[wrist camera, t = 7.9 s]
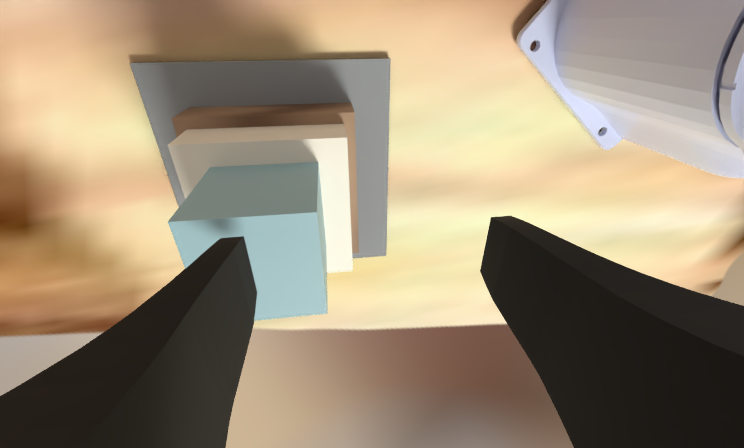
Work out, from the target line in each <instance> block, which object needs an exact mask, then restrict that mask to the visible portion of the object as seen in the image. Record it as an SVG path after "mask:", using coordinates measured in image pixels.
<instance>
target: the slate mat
mask: <svg viewBox="0 0 744 448" xmlns="http://www.w3.org/2000/svg"><path fill="white" fill-rule="evenodd" d="M130 65H131V68H132V71H133V74H134V77H135V80H136V83H137V86H138V89H139V92H140V95H141V98H142V100H143V103H144V106H145V109H146V112H147V115H148V118H149V121H150V124H151V127H152V130H153V133H154V135H155V138H156V141H157V144H158V147H159V150H160V153H161V156H162V159H163V162H164V165H165V168H166V171H167V173H168V176H169V179H170V182H171V185H172V188H173V191H174V194H175V197H176V200H177V203H178V206H179V207H180V206H181V204H182V203H183V202H184V200H185V197H184V194H183V191H182V188H181V185H180V182H179V178H178V175H177V172H176V169H175V166H174V163H173V160H172V157H171V154H170V151H169V148H168V144H169V143H171V142H172V141H173V140H174V139H176V138H177V135H176V131H175V128H174V125H173V122H172V118H173V117H175V116H176V115H178V114H179V113H181V112H182V111H184V110H185V109H187V108H188V107H219V106H251V105H283V104H316V103H348V102H351V103H352V106H353V109H354V112H355V140H356V173H357V206H358V239H359V253H353V254H352V258H363V257H375V256H386V239H387V192H388V145H389V98H390V58H370V59H312V60H254V61H196V62H138V63H130Z"/></svg>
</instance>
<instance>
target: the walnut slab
mask: <svg viewBox="0 0 744 448" xmlns="http://www.w3.org/2000/svg"><path fill="white" fill-rule="evenodd" d="M172 122H173V125H174V128H175V131H176V135H177V137H178V136H179V135H181V134H182V133H183V132H184V131H186V130H187V129H214V128H241V127H267V126H294V125H321V124H344V125H345V129H346V134H347V144H348V167H349V190H350V213H351V236H352V254H353V253H359V239H358V206H357V173H356V140H355V112H354V109H353V106H352V103H351V102H348V103H316V104H283V105H251V106H219V107H188V108H187V109H185V110H184V111H182V112H181V113H179V114H178V115H176V116H175V117H173V118H172Z"/></svg>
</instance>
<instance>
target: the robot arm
mask: <svg viewBox="0 0 744 448" xmlns="http://www.w3.org/2000/svg"><path fill="white" fill-rule="evenodd" d="M533 41H536V47H535V49H534V50H532V51H531V49H530V45H531V43H532V42H533ZM516 42H517V46H518V47H519V49H520V50H521V51H522V52H523V54H524V55H525V56H526V57H527V58H528V60H529V61H530V62H531V63H532V65H533V66H534V67H535V68H536V69H537V71H538V72H539V73H540V74H541V76H542V77H543V78H544V79H545V81H546V82H547V83H548V84H549V85H550V87H551V88H552V89H553V90H554V92H555V93H556V94H557V95H558V96H559V98H560V99H561V100H562V101H563V103H564V104H565V105H566V106H567V107H568V109H569V110H570V111H571V112H572V114H573V115H574V116H575V117H576V118H577V120H578V121H579V122H580V123H581V125H582V126H583V127H584V128H585V129H586V131H587V132H588V133H589V134H590V136H591V137H592V138H593V139H594V141H595V142H596V143H597V144H598V145H599V147H601V148H603V149H605V150H608V149H611V148H613V147H614V146H615V145H616V144H617V143H619V142H620V141H621V140H622V139H625V140H627V141H630V142H632V143H635V144H637V145H640V146H642V147H645V148H647V149H650V150H652V151H655V152H658V153H660V154H663V155H665V156H668V157H670V158H673V159H675V160H678V161H680V162H683V163H685V164H688V165H691V166H693V167H696V168H698V169H701V170H703V171H706V172H708V173H712V174H715V175H719V176H724V177H731V178H744V0H547V1H546V2H545V3H544V5H543V6H542V7H541V8H540V9H539V10H538V11H537V13H536V14H535V15H534V16H533V17H532V18H531V19H530V21H529V22H528V23H527V24H526V25H525V26H524V27H523V28H522V30H521V31H520V32H519V34H518V36H517V39H516ZM601 128H602V131H601V132H600V133H599V134H598V132H599V130H600V129H601ZM480 272H481V274H482V277H483V279H484V281H485V284H486V286H487V288H488V290H489V293H490V295H491V297H492V299H493V301H494V302H495V304H496V306H497V307H498V309H499V311H500V312H501V314H502V316H503V317H504V319H505V321H506V322H507V324H508V325H509V327H510V328H511V330H512V332H513V333H514V335H515V336H516V338H517V340H518V341H519V343H520V344H521V346H522V348H523V349H524V351H525V352H526V354H527V356H528V357H529V359H530V360H531V362H532V364H533V365H534V367H535V369H536V371H537V372H538V374H539V376H540V378H541V380H542V382H543V383H544V386H545V387H546V389H547V392H548V394H549V396H550V398H551V400H552V402H553V404H554V406H555V408H556V410H557V411H558V414H559V416H560V418H561V420H562V423H563V425H564V427H565V429H566V431H567V433H568V436H569V438H570V440H571V442H572V444H573V446H574V448H744V306H742V305H738V304H735V303H731V302H728V301H724V300H721V299H718V298H714V297H711V296H708V295H704V294H701V293H698V292H695V291H691V290H688V289H685V288H682V287H679V286H676V285H673V284H670V283H668V282H665V281H662V280H659V279H656V278H654V277H651V276H648V275H645V274H642V273H640V272H637V271H635V270H632V269H630V268H627V267H625V266H622V265H620V264H617V263H615V262H613V261H610V260H608V259H606V258H603V257H601V256H599V255H596V254H594V253H592V252H590V251H587V250H585V249H583V248H581V247H579V246H576V245H574V244H572V243H570V242H568V241H566V240H564V239H562V238H559V237H557V236H555V235H553V234H551V233H549V232H547V231H545V230H543V229H541V228H538V227H536V226H534V225H532V224H530V223H527V222H525V221H523V220H520V219H518V218H515V217H512V216H503V217H491V221H490V226H489V231H488V236H487V240H486V245H485V250H484V255H483V260H482V265H481V270H480ZM256 300H257V289H256V285H255V281H254V277H253V272H252V268H251V264H250V260H249V256H248V252H247V247H246V243H245V239H244V236H241V237H228V238H220V239H219V240H218V241H217V242H215V243H214V244H213V245H212V246H211V247H209V248H208V249H207V250H206V251H205V252H204V253H203V254H201V255H200V256H199V257H198V258H197V259H196V260H195V261H194V262H193V263H191V264H190V265H189V266H188V267H187V268H186V269H184V270H183V271H182V272H181V273H180V274H179V275H178V276H176V277H175V278H174V279H173V280H172V281H171V282H169V283H168V284H167V285H166V286H165V287H163V288H162V289H161V290H160V291H158V292H157V293H156V294H154V295H153V296H152V297H151V298H149V299H148V300H147V301H146V302H144V303H143V304H142V305H141V306H139V307H138V308H137V309H136V310H134V311H133V312H132V313H130V314H129V315H128V316H126V317H125V318H124V319H122V320H121V321H119V322H118V323H117V324H115V325H114V326H113V327H111V328H110V329H108V330H107V331H105V332H104V333H102V334H101V335H99V336H98V337H96V338H95V339H93V340H92V341H90V342H89V343H88V344H86V345H85V346H83V347H82V348H80V349H78V350H77V351H75V352H74V353H72V354H70V355H69V356H67V357H65V358H64V359H62V360H61V361H59V362H57V363H56V364H54V365H52V366H51V367H49V368H47V369H46V370H44V371H42V372H41V373H39V374H37V375H36V376H34V377H32V378H31V379H29V380H28V381H26V382H24V383H22V384H21V385H19V386H17V387H16V388H14V389H12V390H10V391H9V392H7V393H5V394H3V395H2V396H0V448H225V446H226V440H227V434H228V426H229V420H230V416H231V412H232V406H233V402H234V398H235V394H236V391H237V387H238V383H239V379H240V375H241V371H242V368H243V364H244V360H245V356H246V352H247V348H248V344H249V340H250V337H251V333H252V328H253V324H254V317H255V309H256Z"/></svg>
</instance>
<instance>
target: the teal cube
mask: <svg viewBox="0 0 744 448" xmlns="http://www.w3.org/2000/svg"><path fill="white" fill-rule="evenodd" d="M168 224H169V226H170V229H171V232H172V234H173V237H174V240H175V242H176V245H177V248H178V250H179V253H180V256H181V258H182V261H183V264H184V266H185V269H186V268H187V267H188V266H189V265H190V264H191V263H193V262H194V261H195V260H196V259H197V258H198V257H199V256H200V255H201V254H203V253H204V252H205V251H206V250H207V249H208V248H209V247H211V246H212V245H213V244H214V243H215V242H217V241H218V240H219V239H220V238H228V237H241V236H244V239H245V243H246V247H247V252H248V256H249V260H250V264H251V268H252V272H253V277H254V281H255V285H256V289H257V300H256V309H255V317H254V321H256V320H266V319H276V318H287V317H297V316H307V315H318V314H327V255H326V238H325V227H324V216H323V206H322V195H321V184H320V173H319V163H318V162H306V163H286V164H266V165H246V166H226V167H210V168H209V169H208V170H207V172H206V173H205V174H204V176H203V177H202V178H201V180H200V181H199V182H198V183H197V185H196V186H195V187H194V189H193V190H192V191H191V193H190V194H189V195H188V196H187V198H186V199H185V200H184V202H183V203H182V204H181V206H180V207H179V208H178V210H177V211H176V212H175V213H174V215H173V216H172V217H171V219H170V220H169V221H168Z"/></svg>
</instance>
